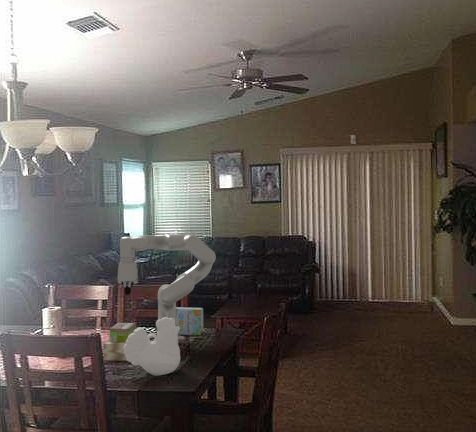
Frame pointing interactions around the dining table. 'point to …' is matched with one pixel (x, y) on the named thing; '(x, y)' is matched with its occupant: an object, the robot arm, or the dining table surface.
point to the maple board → (114, 351)
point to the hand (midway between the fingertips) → (127, 294)
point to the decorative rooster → (155, 348)
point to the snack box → (189, 320)
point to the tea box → (121, 331)
